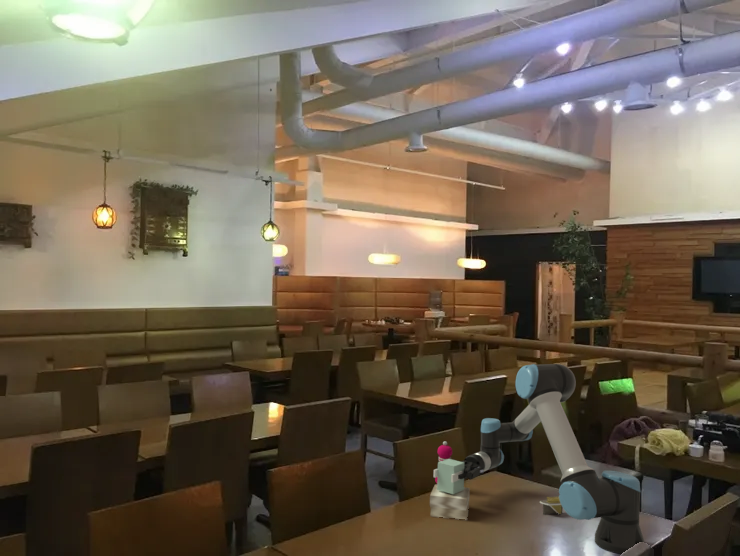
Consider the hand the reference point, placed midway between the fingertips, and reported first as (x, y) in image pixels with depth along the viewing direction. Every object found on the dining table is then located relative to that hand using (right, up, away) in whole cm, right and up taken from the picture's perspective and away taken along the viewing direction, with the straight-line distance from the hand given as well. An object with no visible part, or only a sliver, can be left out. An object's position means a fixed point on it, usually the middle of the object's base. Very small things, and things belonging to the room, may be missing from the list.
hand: (443, 476), depth 227 cm
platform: (+41, -16, +4) cm, 44 cm away
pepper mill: (+3, -15, +27) cm, 31 cm away
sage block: (+3, -6, +4) cm, 8 cm away
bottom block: (+3, -15, +4) cm, 16 cm away
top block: (+3, -11, +4) cm, 12 cm away
